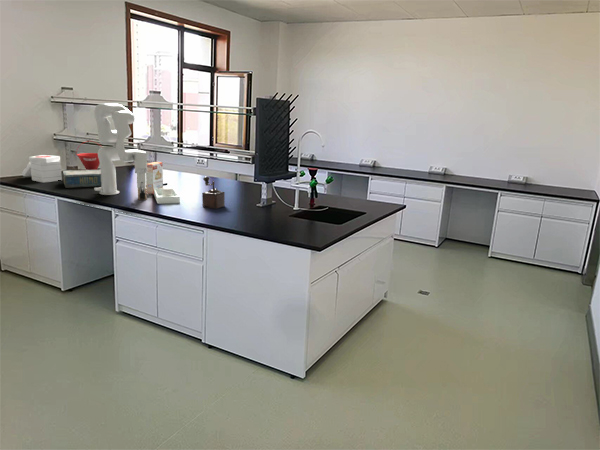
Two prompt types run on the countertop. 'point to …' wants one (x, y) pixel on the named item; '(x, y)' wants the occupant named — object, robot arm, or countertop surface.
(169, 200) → the tray
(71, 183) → the metal box
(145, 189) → the light wooden cube
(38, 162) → the pizza boxes
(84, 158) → the fire bucket
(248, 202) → the countertop surface
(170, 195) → the white block
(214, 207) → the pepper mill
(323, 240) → the countertop surface
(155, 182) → the cracker box
